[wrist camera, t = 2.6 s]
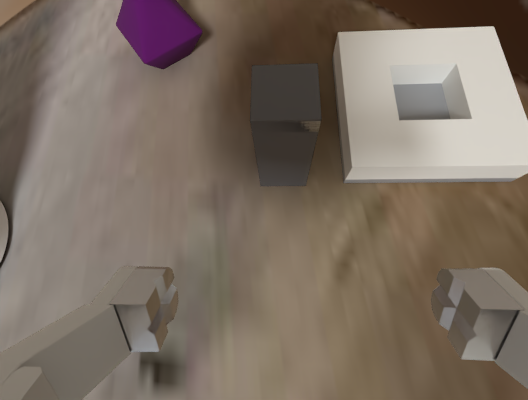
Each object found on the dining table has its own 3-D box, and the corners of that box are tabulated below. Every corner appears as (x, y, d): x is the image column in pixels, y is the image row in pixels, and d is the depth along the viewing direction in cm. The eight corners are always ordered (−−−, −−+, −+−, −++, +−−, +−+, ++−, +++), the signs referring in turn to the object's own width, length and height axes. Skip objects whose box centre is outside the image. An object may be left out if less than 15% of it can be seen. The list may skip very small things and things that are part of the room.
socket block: (343, 182, 28) (352, 167, 24) (332, 58, 33) (338, 32, 30) (511, 181, 27) (543, 165, 24) (471, 54, 32) (493, 26, 29)
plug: (260, 186, 28) (250, 120, 18) (261, 146, 30) (251, 65, 19) (305, 185, 28) (321, 119, 17) (304, 146, 29) (317, 63, 19)
